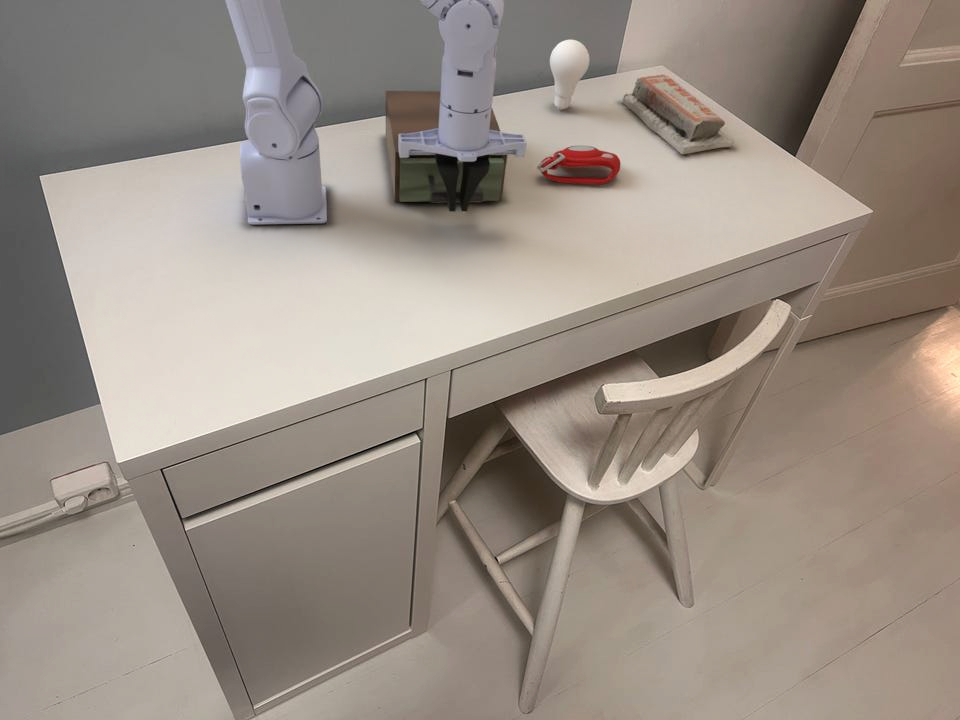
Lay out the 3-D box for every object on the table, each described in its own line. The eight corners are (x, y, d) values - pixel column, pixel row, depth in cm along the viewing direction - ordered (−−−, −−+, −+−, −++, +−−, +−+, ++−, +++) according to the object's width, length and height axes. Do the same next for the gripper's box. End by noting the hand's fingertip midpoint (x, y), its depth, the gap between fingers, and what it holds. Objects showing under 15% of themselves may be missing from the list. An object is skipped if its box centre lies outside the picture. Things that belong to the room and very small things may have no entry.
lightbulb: (539, 99, 120) (550, 32, 112) (575, 101, 121) (588, 34, 113) (545, 117, 116) (557, 48, 108) (582, 118, 117) (596, 50, 109)
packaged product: (626, 74, 119) (675, 69, 122) (619, 102, 122) (667, 96, 126) (690, 127, 108) (743, 120, 111) (681, 157, 111) (732, 148, 115)
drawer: (506, 222, 93) (511, 184, 89) (403, 224, 91) (404, 185, 87) (480, 141, 107) (484, 105, 103) (390, 141, 105) (391, 103, 101)
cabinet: (501, 200, 98) (508, 151, 93) (394, 202, 95) (395, 151, 90) (481, 139, 109) (486, 92, 104) (385, 138, 107) (385, 90, 101)
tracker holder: (563, 139, 109) (628, 144, 105) (562, 169, 111) (626, 175, 107) (531, 154, 100) (600, 160, 95) (530, 186, 102) (598, 194, 98)
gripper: (402, 118, 75) (401, 227, 85) (538, 119, 78) (521, 224, 87) (397, 87, 80) (396, 193, 90) (524, 89, 83) (510, 192, 92)
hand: (457, 207), depth 89 cm, fingers closed, pressing on drawer
